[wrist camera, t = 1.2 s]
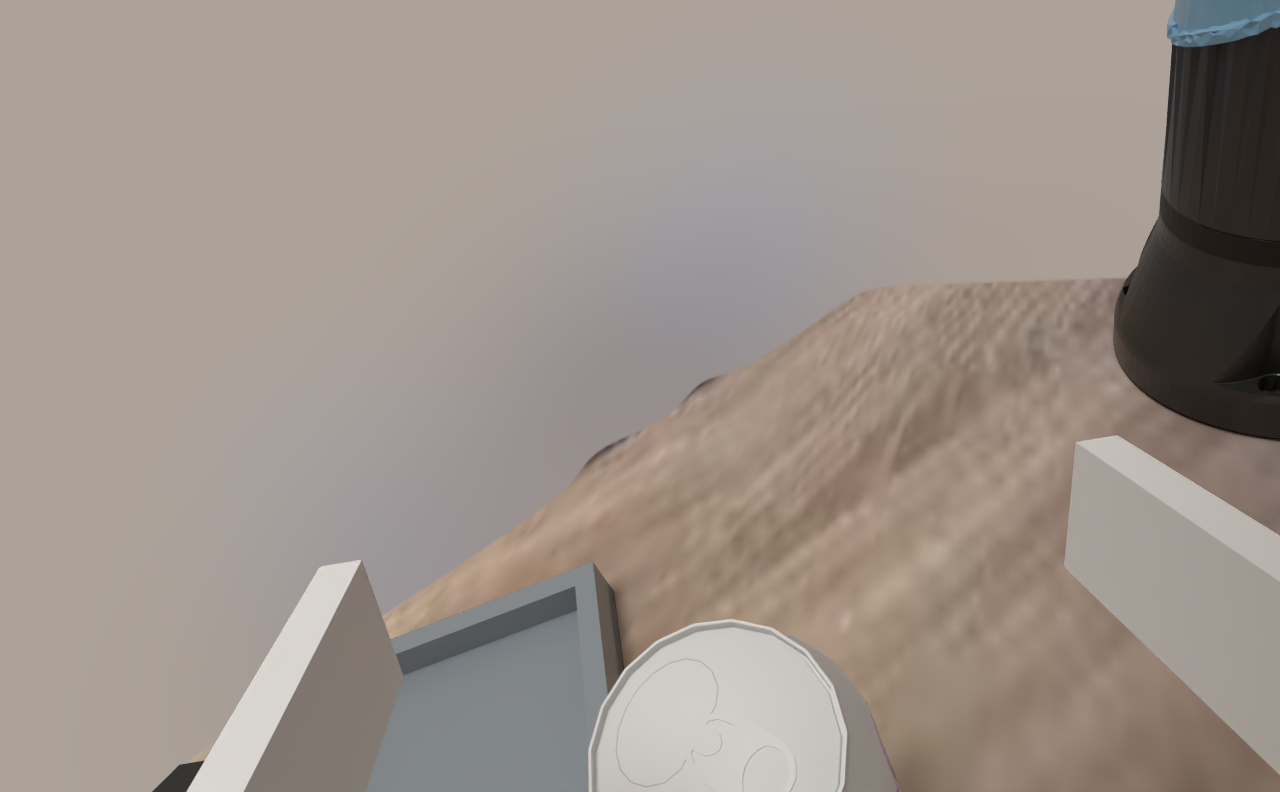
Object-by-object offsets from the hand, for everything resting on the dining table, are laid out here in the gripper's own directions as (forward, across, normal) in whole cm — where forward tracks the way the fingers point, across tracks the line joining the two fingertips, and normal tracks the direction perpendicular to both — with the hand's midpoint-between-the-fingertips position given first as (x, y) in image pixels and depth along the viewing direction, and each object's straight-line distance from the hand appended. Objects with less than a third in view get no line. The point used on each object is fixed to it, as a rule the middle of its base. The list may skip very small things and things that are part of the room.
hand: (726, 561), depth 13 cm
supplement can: (+7, +3, -22) cm, 23 cm away
